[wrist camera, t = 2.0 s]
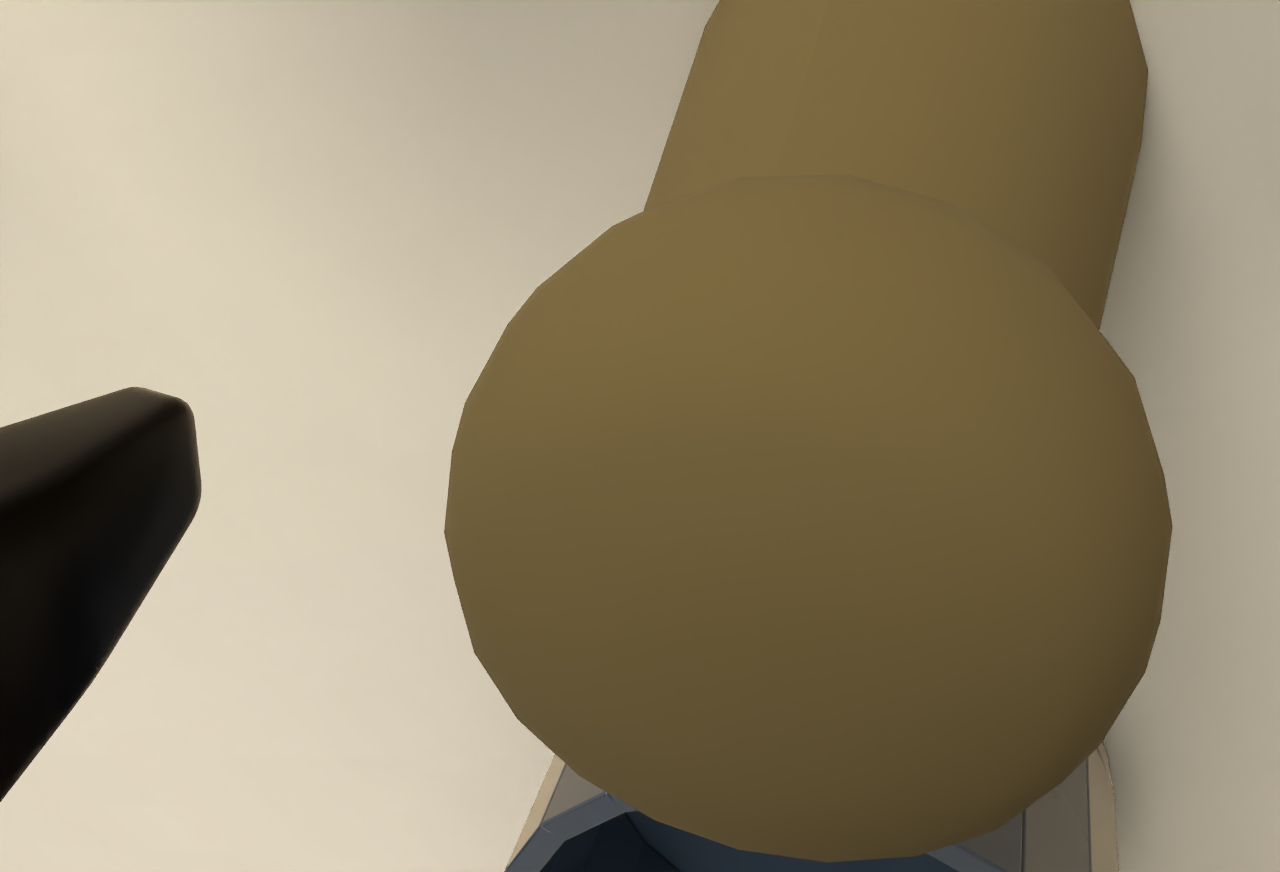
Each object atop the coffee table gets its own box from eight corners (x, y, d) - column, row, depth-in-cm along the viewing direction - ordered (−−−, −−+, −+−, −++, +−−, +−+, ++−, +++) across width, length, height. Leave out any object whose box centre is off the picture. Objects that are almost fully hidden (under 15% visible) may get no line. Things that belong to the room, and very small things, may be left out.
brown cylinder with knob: (1087, 342, 17) (1125, 1076, 9) (683, 283, 19) (364, 871, 10) (1207, -107, 14) (1465, 358, 5) (702, -142, 15) (240, 188, 7)
